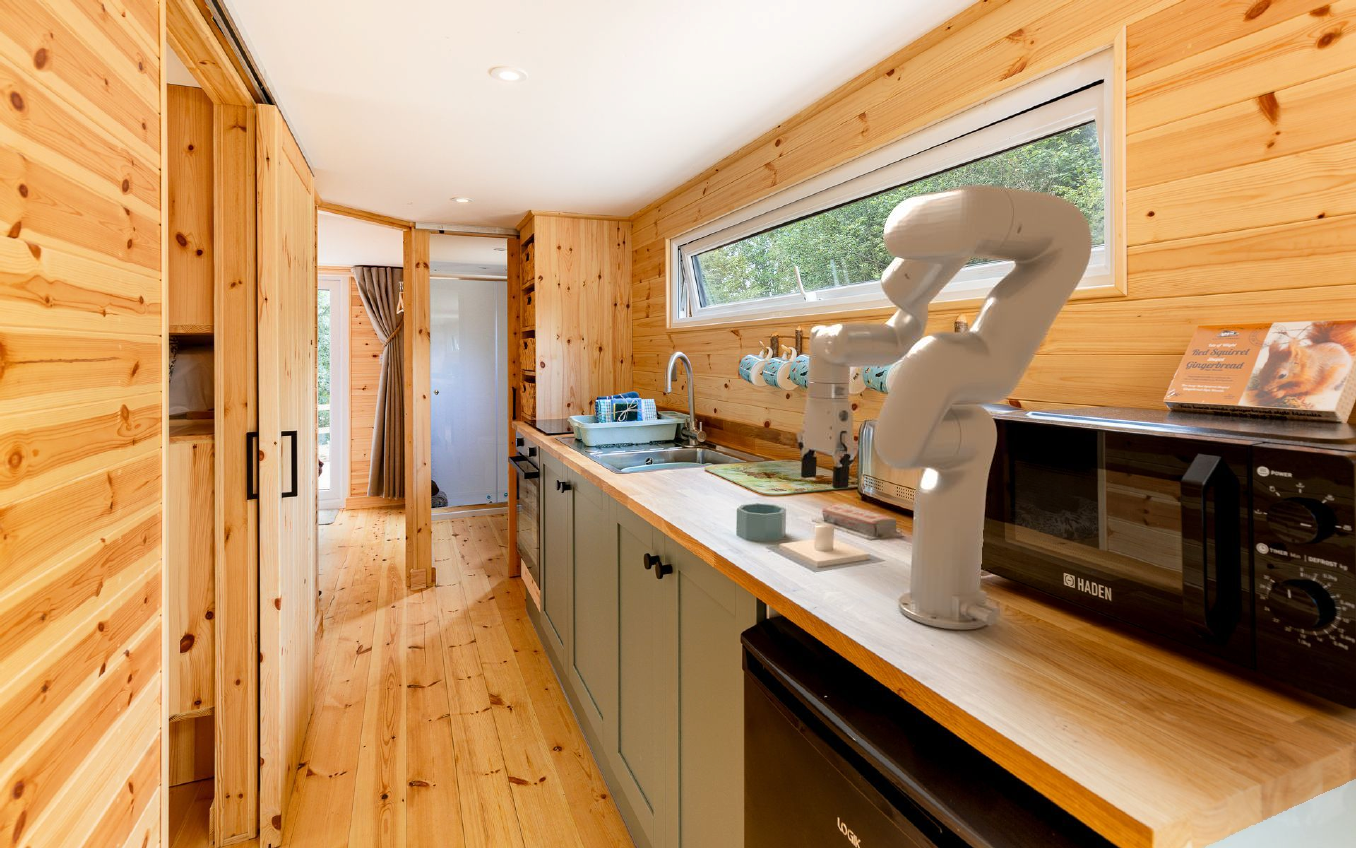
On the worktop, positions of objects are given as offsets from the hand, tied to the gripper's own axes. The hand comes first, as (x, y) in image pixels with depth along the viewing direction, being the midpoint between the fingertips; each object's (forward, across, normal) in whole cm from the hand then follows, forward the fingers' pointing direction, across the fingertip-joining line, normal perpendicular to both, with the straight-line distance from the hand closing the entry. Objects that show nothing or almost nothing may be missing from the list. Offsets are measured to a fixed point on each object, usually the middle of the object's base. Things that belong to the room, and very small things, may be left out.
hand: (823, 482), depth 123 cm
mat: (+14, -1, 0) cm, 14 cm away
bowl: (+14, +15, +4) cm, 21 cm away
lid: (+14, -1, 0) cm, 14 cm away
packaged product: (+15, +12, -19) cm, 27 cm away
